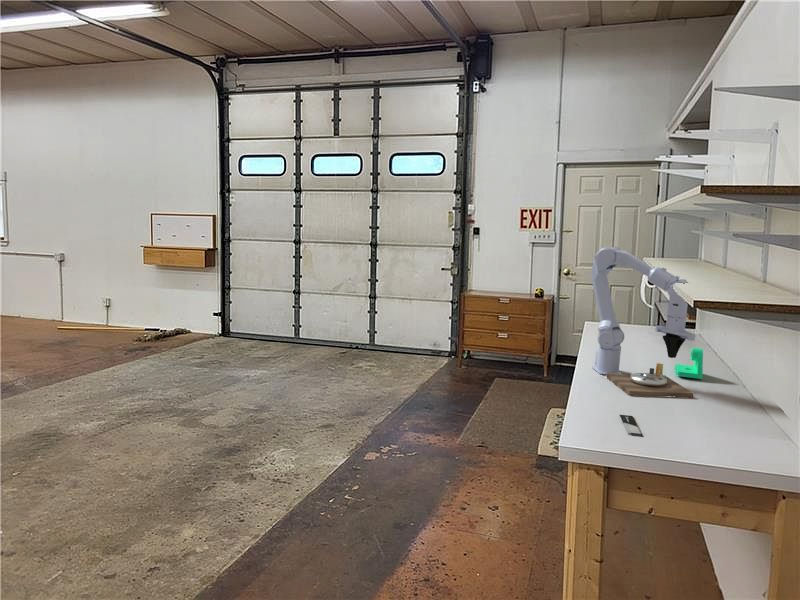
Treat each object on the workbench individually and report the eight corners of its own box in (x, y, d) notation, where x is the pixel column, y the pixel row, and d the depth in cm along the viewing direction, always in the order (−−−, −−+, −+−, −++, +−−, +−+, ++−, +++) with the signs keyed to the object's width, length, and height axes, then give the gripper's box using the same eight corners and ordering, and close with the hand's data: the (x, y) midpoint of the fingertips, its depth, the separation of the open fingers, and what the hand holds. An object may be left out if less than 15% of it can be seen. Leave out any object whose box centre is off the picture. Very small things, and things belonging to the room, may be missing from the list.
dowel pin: (648, 377, 200) (649, 368, 200) (652, 377, 200) (653, 368, 200) (649, 378, 199) (650, 369, 199) (654, 378, 199) (655, 369, 199)
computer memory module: (644, 434, 149) (627, 432, 150) (643, 438, 150) (626, 436, 150) (634, 415, 164) (619, 413, 165) (633, 419, 164) (618, 417, 165)
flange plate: (658, 389, 186) (660, 374, 185) (624, 381, 194) (625, 367, 193) (676, 381, 196) (677, 367, 196) (643, 373, 204) (644, 360, 203)
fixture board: (606, 377, 204) (606, 373, 203) (664, 379, 204) (664, 375, 204) (628, 395, 184) (629, 390, 184) (693, 397, 184) (693, 393, 184)
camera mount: (673, 370, 217) (677, 343, 216) (697, 373, 215) (700, 345, 213) (677, 379, 206) (680, 350, 205) (701, 381, 204) (705, 352, 202)
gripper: (704, 320, 189) (699, 362, 191) (668, 312, 203) (664, 351, 205) (687, 321, 187) (682, 363, 189) (652, 313, 200) (648, 352, 202)
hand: (671, 357), depth 196 cm, fingers closed
